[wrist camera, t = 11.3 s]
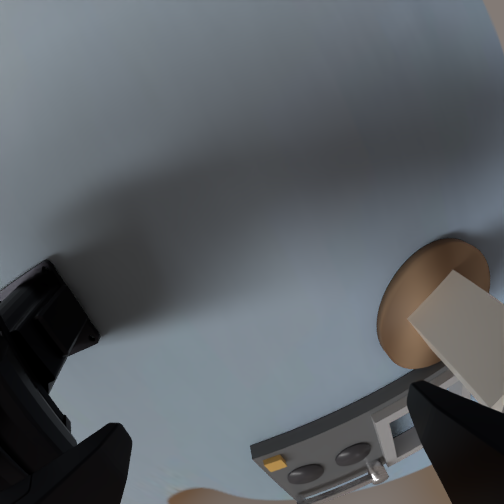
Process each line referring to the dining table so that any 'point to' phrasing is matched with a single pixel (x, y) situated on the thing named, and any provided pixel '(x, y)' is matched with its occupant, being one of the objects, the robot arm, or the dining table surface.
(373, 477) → the lever
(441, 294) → the white carton with cap
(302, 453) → the grey control panel
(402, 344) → the disc
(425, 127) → the dining table surface
